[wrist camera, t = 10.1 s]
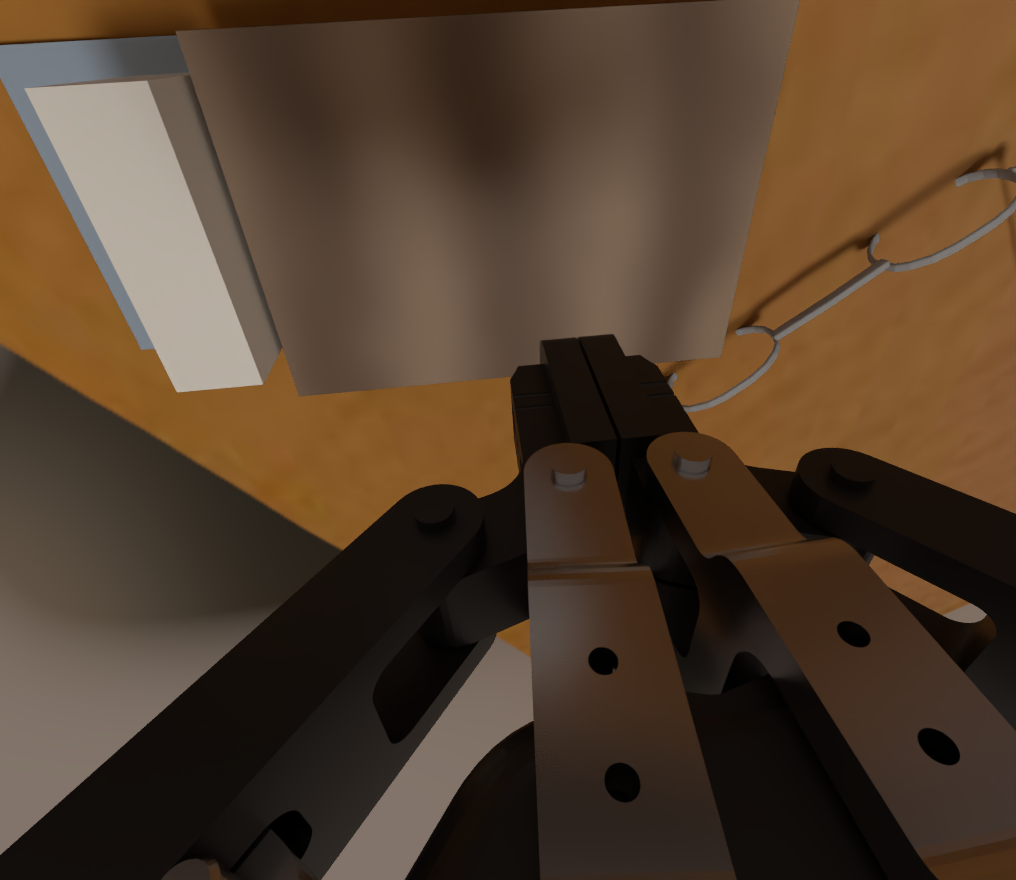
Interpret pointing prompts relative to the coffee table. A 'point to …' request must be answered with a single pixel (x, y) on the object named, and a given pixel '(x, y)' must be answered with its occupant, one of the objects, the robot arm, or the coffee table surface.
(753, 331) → the eyeglasses
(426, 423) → the coffee table surface
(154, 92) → the cream rectangular block
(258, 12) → the coffee table surface
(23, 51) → the mat
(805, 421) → the coffee table surface
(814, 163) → the coffee table surface
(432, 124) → the brown flat block
